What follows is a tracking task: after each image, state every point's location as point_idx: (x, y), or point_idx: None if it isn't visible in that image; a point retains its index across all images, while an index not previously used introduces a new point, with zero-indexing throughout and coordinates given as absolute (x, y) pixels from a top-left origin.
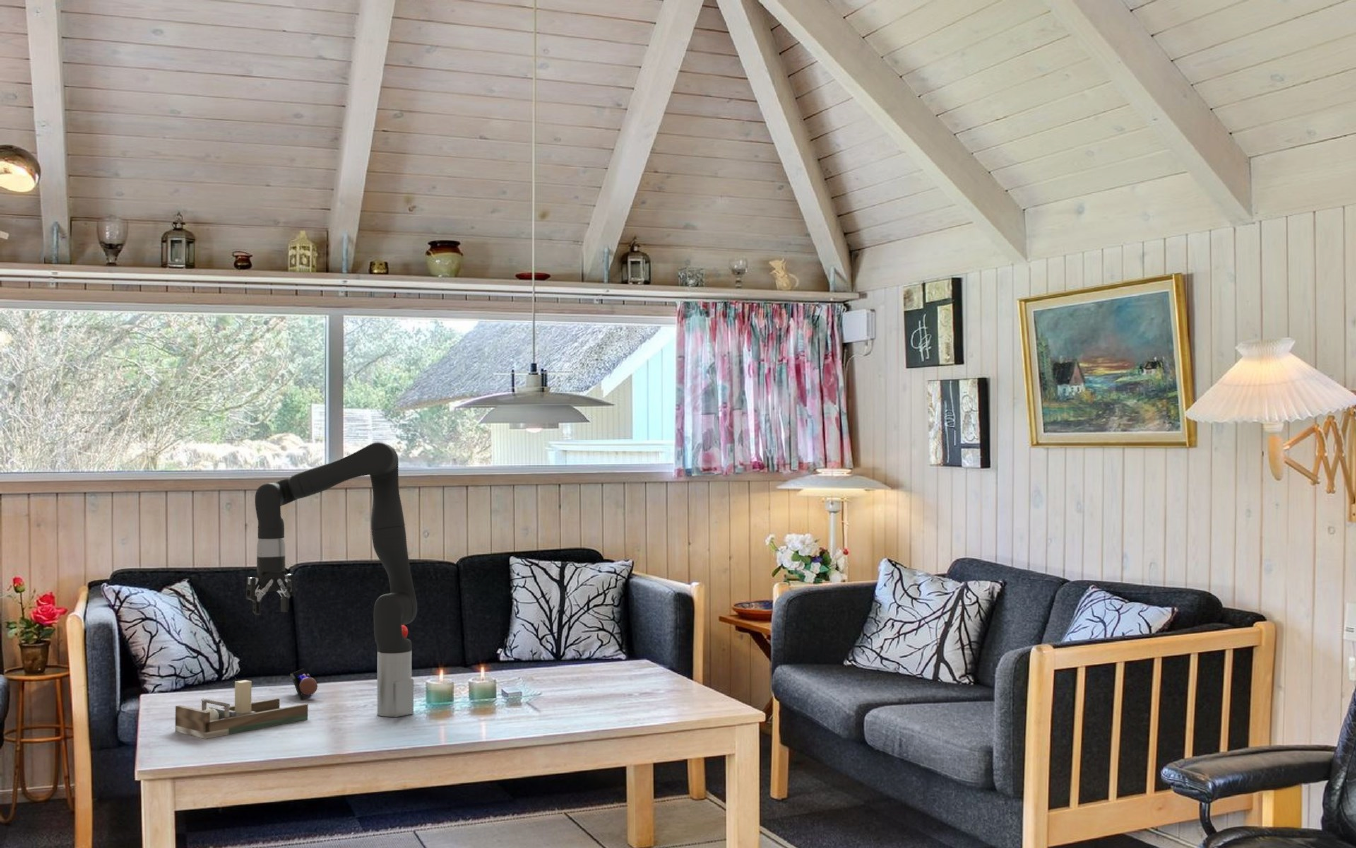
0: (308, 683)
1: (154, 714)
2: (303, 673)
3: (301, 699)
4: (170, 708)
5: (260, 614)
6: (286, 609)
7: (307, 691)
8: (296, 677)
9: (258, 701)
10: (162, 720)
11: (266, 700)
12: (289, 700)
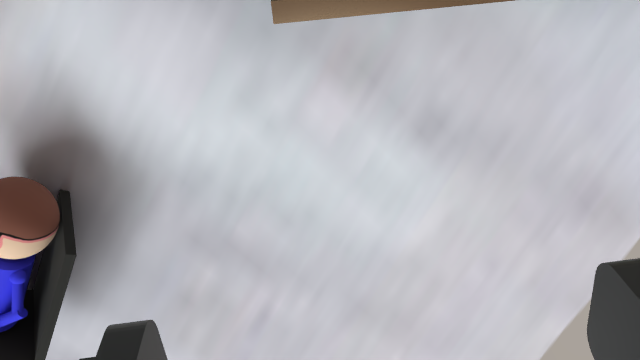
0: (18, 200)
1: (578, 298)
2: None
3: (68, 193)
4: (488, 348)
5: (603, 264)
6: (123, 340)
7: (37, 183)
8: (22, 341)
9: (380, 13)
10: (632, 194)
11: (340, 8)
12: (114, 216)
